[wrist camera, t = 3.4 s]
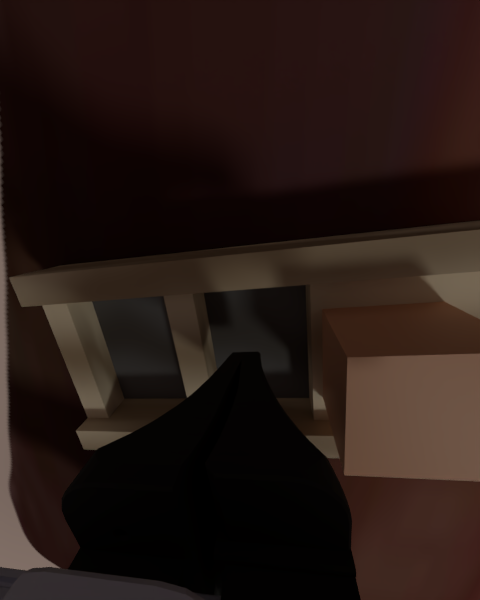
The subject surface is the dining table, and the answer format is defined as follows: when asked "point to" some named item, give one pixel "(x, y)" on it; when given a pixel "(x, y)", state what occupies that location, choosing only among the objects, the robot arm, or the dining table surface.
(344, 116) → the dining table surface
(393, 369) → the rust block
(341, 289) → the trap lane
